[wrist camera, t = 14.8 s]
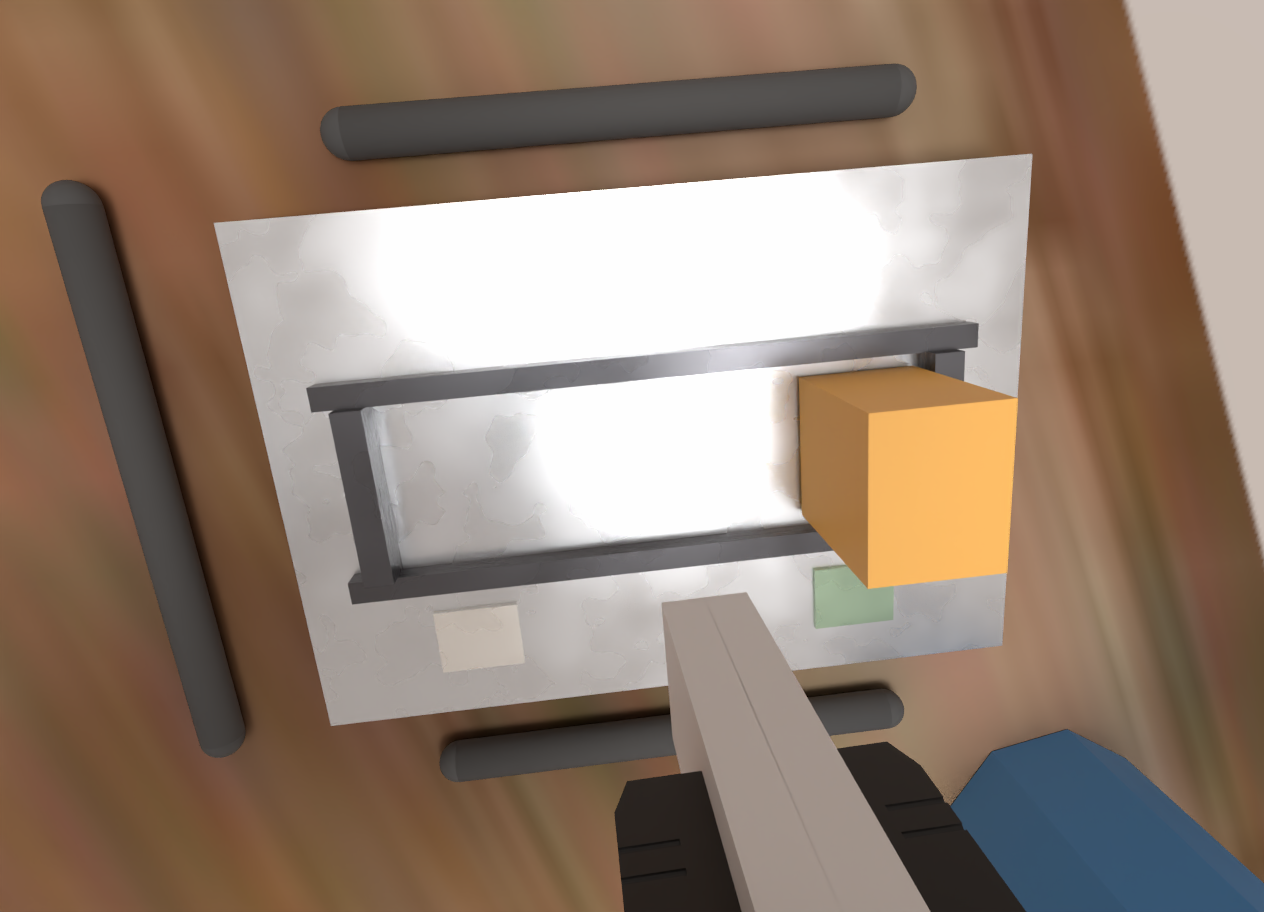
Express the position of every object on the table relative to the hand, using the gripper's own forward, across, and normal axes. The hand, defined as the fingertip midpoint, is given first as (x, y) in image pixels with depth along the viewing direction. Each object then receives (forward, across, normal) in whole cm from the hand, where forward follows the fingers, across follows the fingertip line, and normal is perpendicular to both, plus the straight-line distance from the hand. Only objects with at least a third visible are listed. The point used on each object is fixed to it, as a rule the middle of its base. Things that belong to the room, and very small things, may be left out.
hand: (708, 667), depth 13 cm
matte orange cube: (+12, +8, 0) cm, 15 cm away
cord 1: (+15, +1, +12) cm, 19 cm away
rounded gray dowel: (+16, -17, 0) cm, 23 cm away
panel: (+15, +1, 0) cm, 15 cm away
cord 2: (+15, +1, -12) cm, 20 cm away
